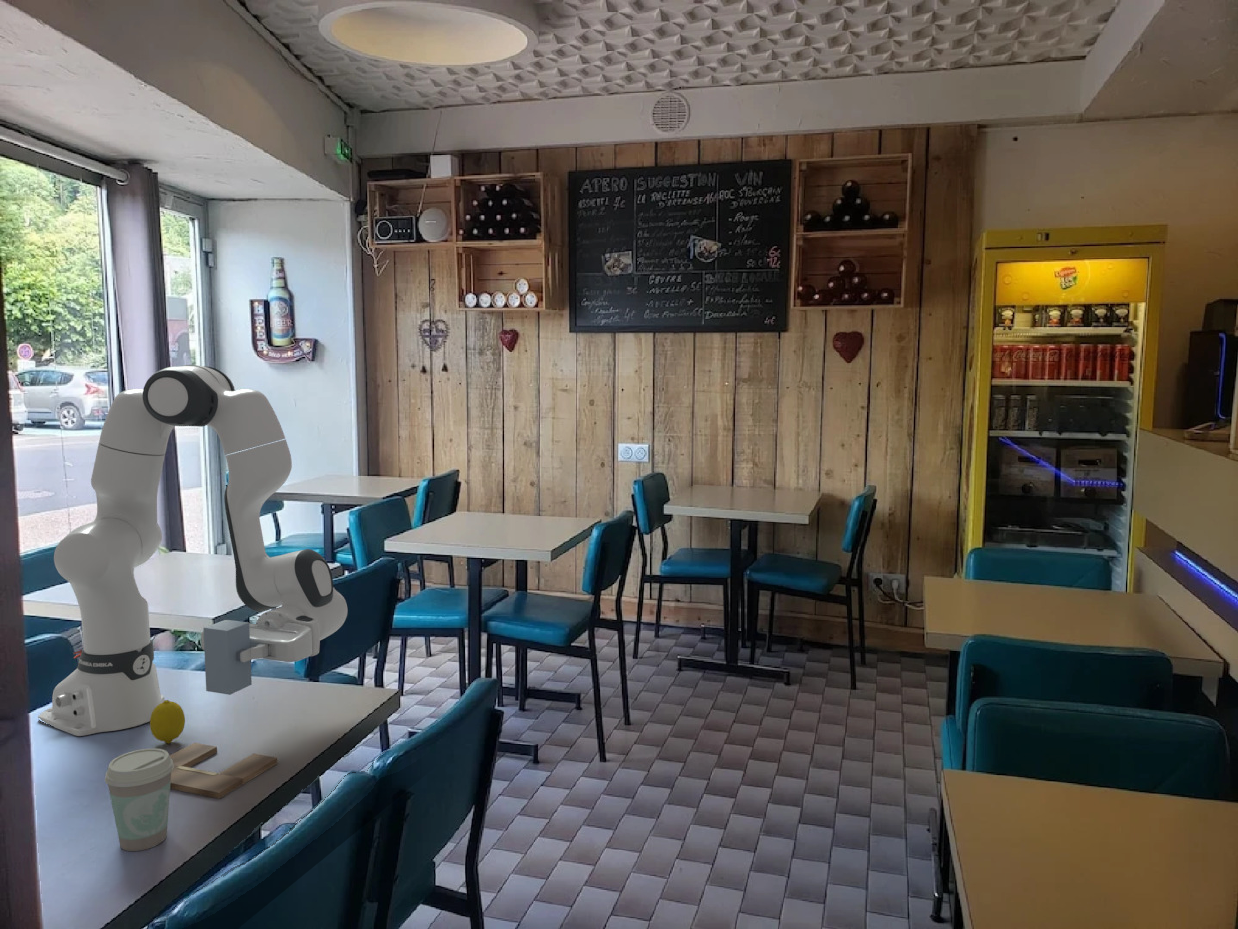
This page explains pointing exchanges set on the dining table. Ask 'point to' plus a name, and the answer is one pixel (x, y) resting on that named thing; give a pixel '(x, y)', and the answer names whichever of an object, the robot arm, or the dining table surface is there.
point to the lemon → (167, 721)
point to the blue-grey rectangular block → (226, 656)
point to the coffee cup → (140, 797)
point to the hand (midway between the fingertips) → (223, 655)
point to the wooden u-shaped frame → (212, 781)
